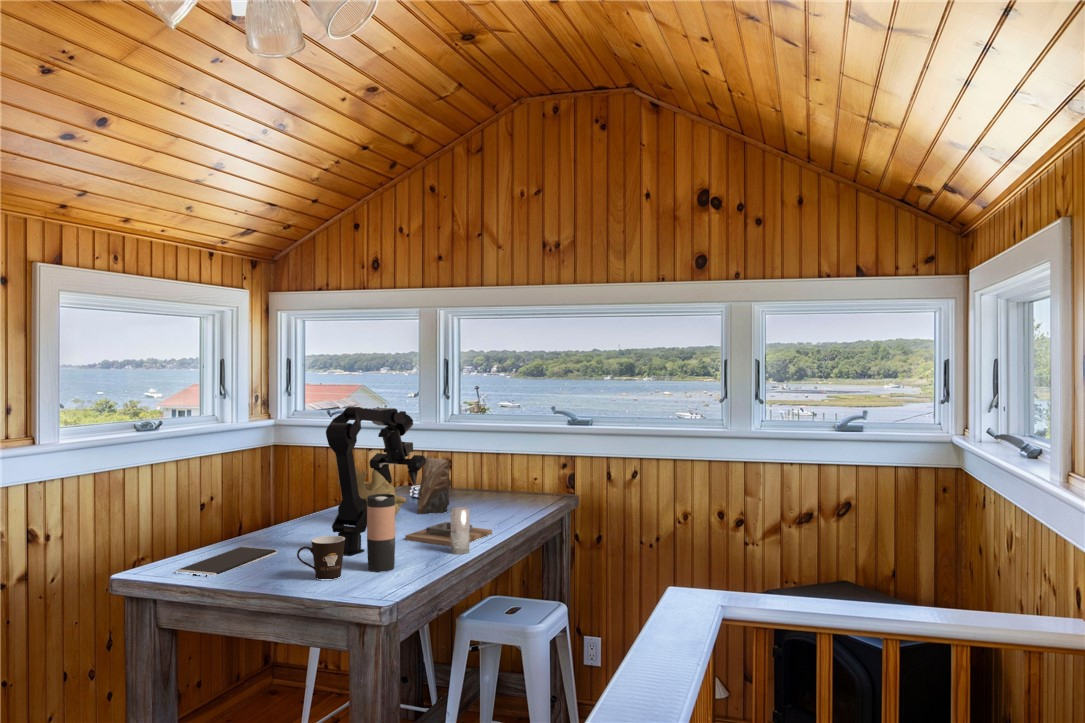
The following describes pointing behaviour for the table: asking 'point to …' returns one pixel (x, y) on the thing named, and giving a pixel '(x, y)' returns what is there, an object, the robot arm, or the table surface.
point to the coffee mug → (326, 556)
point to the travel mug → (381, 532)
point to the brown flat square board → (444, 534)
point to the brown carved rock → (434, 487)
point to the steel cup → (460, 530)
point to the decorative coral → (376, 487)
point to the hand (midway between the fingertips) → (402, 483)
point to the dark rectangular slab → (228, 560)
